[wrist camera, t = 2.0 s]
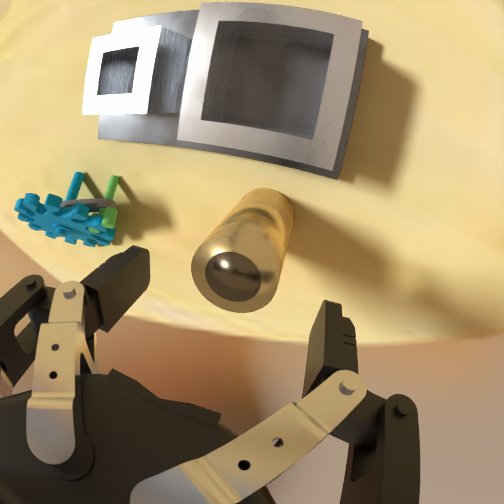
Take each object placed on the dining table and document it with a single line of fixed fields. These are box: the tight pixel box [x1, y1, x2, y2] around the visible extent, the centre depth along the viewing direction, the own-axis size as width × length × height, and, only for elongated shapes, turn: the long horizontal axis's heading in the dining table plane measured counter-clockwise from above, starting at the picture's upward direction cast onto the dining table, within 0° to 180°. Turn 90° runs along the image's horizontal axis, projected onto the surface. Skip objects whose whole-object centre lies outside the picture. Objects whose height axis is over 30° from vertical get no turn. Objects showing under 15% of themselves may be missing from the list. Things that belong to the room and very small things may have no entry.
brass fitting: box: [191, 188, 294, 313], centre depth 16 cm, size 4×4×8 cm
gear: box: [14, 172, 119, 247], centre depth 20 cm, size 11×6×10 cm
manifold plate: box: [83, 2, 369, 180], centre depth 13 cm, size 10×18×5 cm, turn 81°
